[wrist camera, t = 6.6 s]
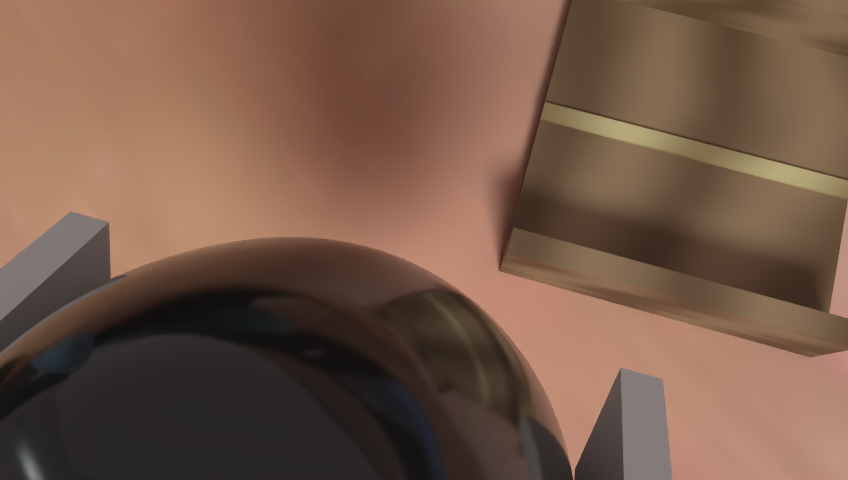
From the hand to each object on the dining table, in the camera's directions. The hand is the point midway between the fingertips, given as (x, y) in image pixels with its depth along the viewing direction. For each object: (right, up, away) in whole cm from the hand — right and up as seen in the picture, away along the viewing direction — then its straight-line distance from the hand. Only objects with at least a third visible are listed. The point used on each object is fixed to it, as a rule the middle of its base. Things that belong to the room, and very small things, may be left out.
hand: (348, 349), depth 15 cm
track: (+14, +6, +21) cm, 26 cm away
